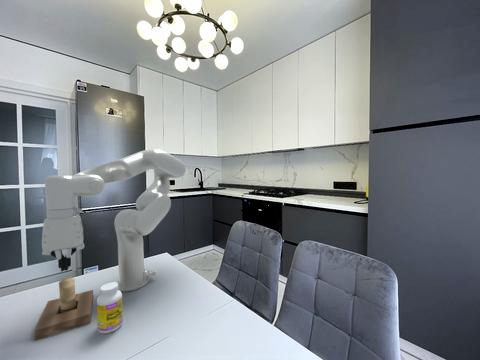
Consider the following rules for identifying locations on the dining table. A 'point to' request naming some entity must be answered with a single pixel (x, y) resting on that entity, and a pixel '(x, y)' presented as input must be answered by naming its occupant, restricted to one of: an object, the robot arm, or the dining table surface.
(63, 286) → the peg
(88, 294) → the board
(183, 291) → the dining table surface
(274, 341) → the dining table surface
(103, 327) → the supplement bottle
